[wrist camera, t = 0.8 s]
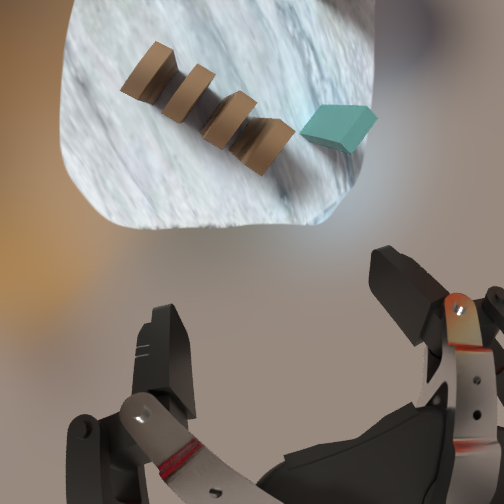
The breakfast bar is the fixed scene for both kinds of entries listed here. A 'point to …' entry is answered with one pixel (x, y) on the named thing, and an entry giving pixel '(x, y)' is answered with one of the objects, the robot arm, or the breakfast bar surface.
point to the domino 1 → (151, 74)
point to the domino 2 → (188, 93)
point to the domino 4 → (261, 143)
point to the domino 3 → (227, 118)
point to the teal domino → (339, 126)
